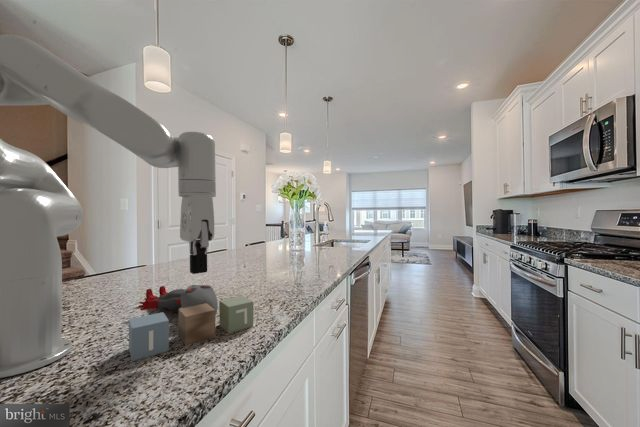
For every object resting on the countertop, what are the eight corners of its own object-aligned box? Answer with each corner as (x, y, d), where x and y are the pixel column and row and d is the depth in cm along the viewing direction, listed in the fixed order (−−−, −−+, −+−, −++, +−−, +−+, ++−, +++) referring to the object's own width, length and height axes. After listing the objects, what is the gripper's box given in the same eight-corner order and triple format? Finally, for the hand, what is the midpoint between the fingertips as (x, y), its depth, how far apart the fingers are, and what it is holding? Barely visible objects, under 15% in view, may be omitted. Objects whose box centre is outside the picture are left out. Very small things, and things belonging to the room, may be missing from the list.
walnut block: (185, 346, 54) (185, 316, 54) (178, 336, 59) (178, 309, 59) (215, 337, 58) (215, 309, 58) (206, 328, 63) (206, 303, 63)
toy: (179, 282, 89) (233, 277, 72) (182, 311, 88) (238, 313, 71) (123, 294, 76) (173, 291, 59) (125, 328, 75) (177, 335, 58)
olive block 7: (229, 333, 60) (229, 307, 60) (219, 325, 65) (219, 300, 65) (253, 326, 64) (253, 301, 64) (242, 319, 69) (242, 295, 69)
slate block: (131, 361, 49) (131, 328, 49) (128, 349, 53) (128, 319, 53) (169, 351, 52) (169, 320, 52) (163, 340, 57) (163, 312, 57)
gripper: (171, 192, 62) (172, 270, 62) (187, 185, 51) (189, 281, 51) (204, 193, 67) (205, 265, 67) (226, 187, 56) (228, 275, 56)
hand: (198, 272), depth 59 cm, fingers closed
